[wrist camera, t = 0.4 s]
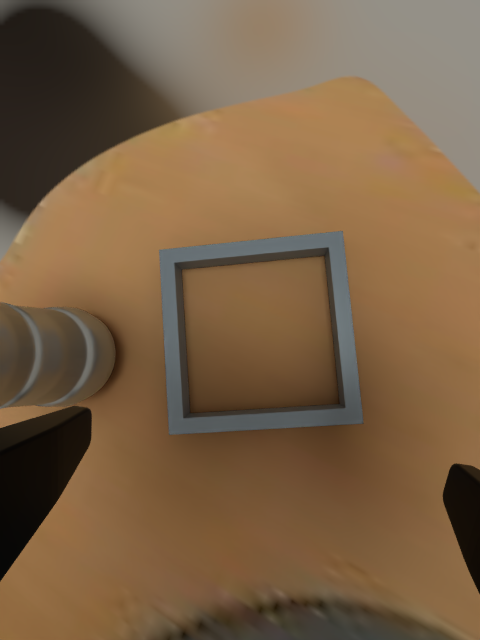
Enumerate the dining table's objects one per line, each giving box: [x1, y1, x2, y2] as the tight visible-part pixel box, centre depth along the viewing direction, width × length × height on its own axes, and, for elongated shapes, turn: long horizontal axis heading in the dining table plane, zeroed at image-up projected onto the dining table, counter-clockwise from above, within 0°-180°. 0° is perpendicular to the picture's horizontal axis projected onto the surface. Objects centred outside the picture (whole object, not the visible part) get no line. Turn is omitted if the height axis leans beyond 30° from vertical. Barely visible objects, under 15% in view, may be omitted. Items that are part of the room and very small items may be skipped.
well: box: [159, 231, 364, 435], centre depth 24 cm, size 12×12×2 cm
